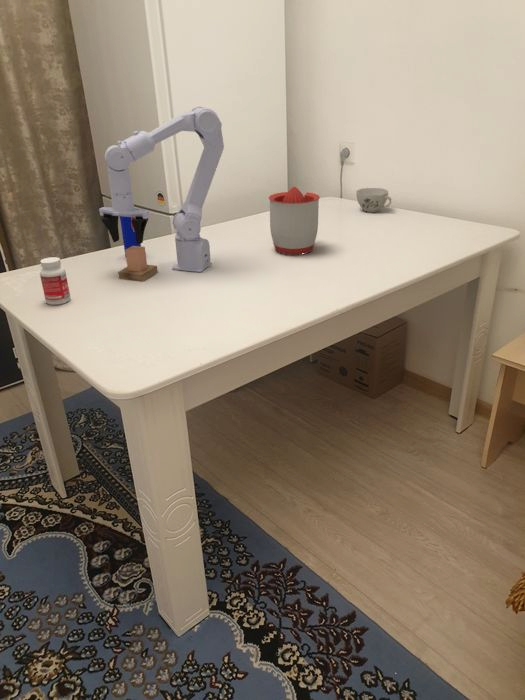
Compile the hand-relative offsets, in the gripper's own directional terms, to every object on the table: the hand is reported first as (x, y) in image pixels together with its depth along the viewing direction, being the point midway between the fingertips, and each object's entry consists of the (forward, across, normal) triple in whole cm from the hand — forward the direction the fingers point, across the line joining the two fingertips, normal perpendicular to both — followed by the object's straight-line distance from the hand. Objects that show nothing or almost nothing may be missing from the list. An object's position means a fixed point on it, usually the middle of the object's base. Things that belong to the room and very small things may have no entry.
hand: (128, 242), depth 155 cm
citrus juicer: (+10, +39, +35) cm, 53 cm away
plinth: (+10, +2, 0) cm, 10 cm away
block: (+8, +2, 0) cm, 8 cm away
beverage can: (+10, -8, +14) cm, 18 cm away
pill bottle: (+10, -8, -23) cm, 26 cm away
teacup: (+9, +55, +92) cm, 108 cm away
